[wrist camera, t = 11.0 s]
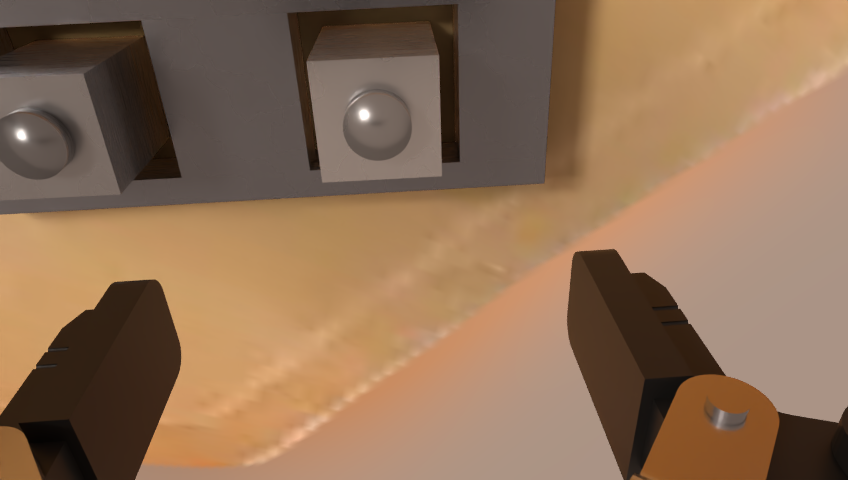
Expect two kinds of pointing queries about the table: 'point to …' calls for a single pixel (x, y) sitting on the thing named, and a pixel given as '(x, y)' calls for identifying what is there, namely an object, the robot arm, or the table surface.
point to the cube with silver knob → (376, 101)
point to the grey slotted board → (306, 97)
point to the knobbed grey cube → (77, 117)
